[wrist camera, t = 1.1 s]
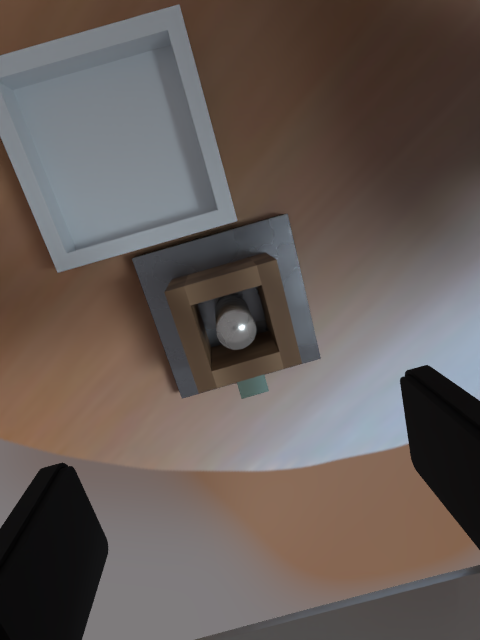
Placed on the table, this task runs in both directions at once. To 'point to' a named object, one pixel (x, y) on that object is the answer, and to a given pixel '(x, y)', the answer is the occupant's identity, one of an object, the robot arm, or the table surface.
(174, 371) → the grey peg base
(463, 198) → the table surface
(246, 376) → the brown hollow square block
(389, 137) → the table surface
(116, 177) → the tray
